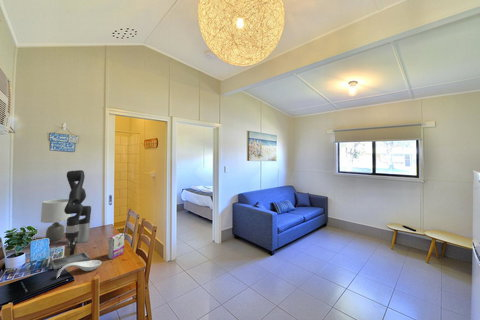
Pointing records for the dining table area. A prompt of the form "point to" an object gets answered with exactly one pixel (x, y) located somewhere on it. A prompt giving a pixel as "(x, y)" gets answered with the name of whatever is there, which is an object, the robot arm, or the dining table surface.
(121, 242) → the candy bar box
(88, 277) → the dining table surface
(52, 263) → the tray
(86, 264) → the spoon rest
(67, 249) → the cube
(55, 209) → the lamp
